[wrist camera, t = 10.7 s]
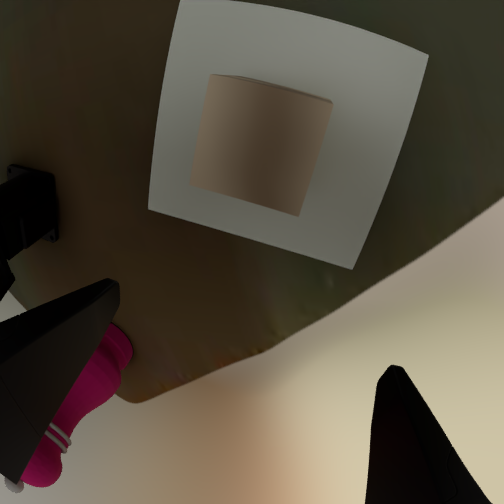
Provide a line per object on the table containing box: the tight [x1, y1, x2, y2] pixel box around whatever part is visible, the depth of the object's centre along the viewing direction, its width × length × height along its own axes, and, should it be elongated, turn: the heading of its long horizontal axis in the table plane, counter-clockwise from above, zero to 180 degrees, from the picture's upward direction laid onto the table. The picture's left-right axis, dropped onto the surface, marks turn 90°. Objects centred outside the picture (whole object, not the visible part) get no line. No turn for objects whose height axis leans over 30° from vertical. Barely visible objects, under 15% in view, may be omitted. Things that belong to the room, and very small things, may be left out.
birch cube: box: [189, 74, 334, 217], centre depth 15 cm, size 5×5×5 cm
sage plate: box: [148, 0, 429, 270], centre depth 17 cm, size 14×14×1 cm
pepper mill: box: [5, 323, 133, 493], centre depth 23 cm, size 7×7×20 cm
